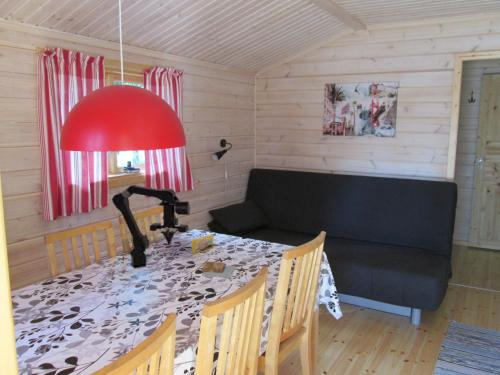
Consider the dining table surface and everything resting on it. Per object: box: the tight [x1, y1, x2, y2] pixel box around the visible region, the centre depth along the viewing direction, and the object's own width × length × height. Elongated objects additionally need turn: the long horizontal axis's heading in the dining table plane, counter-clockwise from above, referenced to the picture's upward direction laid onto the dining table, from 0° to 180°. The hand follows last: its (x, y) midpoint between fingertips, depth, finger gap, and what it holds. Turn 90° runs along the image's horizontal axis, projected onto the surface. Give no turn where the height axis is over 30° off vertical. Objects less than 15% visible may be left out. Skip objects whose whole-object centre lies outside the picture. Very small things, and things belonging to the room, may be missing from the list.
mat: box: [201, 264, 237, 278], centre depth 216 cm, size 14×16×1 cm
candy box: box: [191, 234, 215, 255], centre depth 248 cm, size 16×2×8 cm, turn 143°
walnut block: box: [201, 261, 226, 273], centre depth 216 cm, size 3×7×10 cm
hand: (169, 244), depth 219 cm, fingers closed
